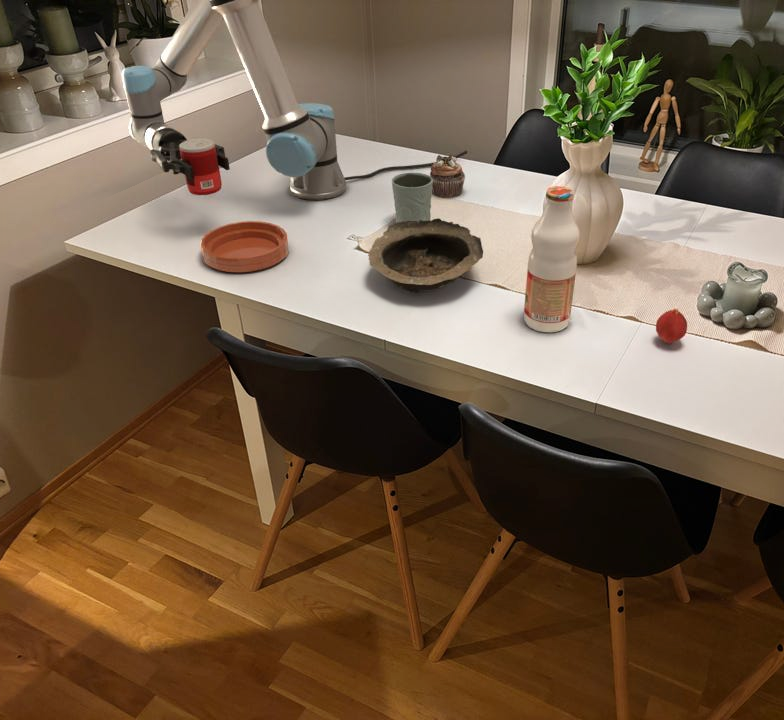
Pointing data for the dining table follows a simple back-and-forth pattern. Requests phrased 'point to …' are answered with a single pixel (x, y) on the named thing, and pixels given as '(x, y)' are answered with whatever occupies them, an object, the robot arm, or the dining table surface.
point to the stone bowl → (425, 253)
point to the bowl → (244, 246)
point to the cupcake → (447, 177)
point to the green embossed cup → (412, 196)
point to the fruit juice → (552, 264)
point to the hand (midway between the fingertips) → (209, 168)
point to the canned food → (201, 166)
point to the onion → (671, 326)
